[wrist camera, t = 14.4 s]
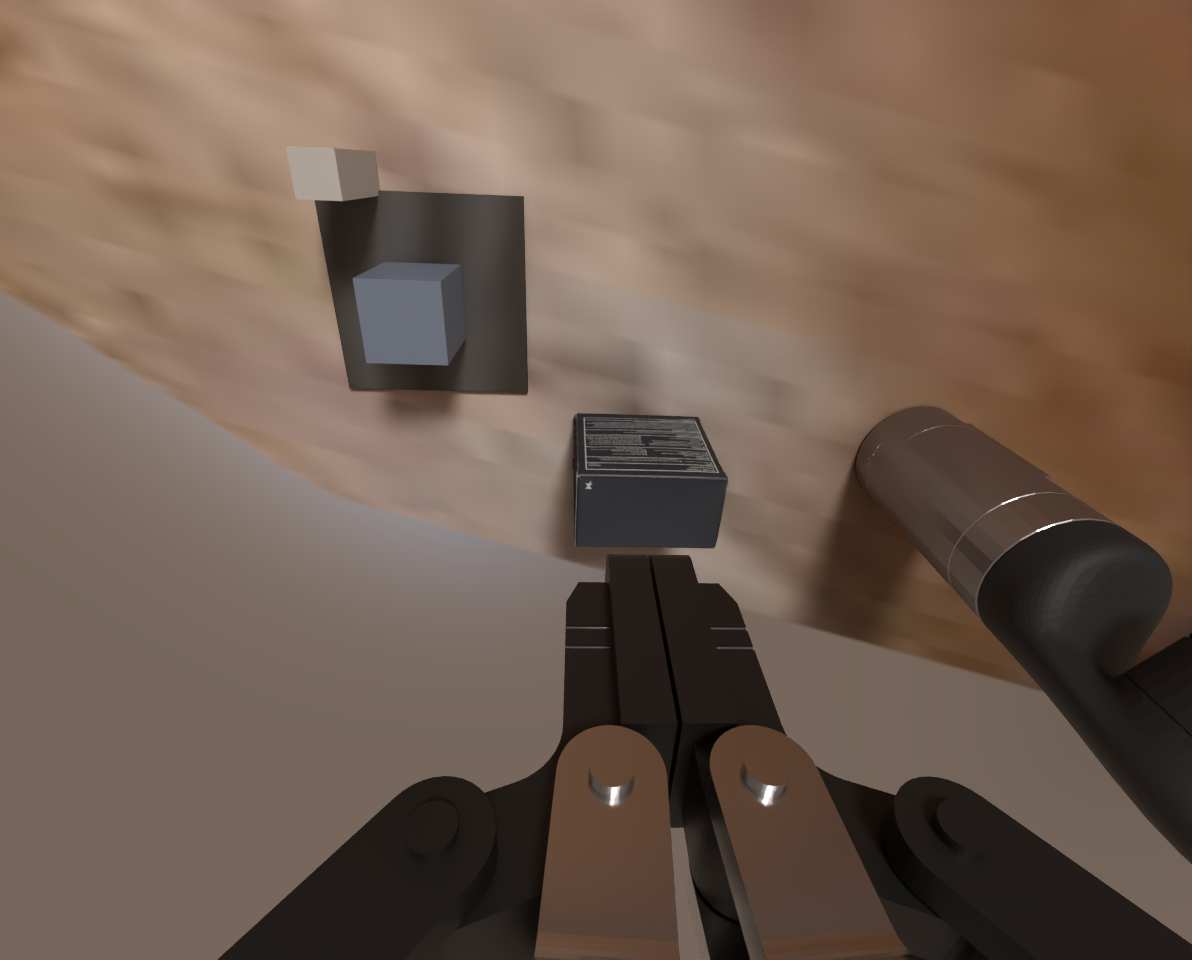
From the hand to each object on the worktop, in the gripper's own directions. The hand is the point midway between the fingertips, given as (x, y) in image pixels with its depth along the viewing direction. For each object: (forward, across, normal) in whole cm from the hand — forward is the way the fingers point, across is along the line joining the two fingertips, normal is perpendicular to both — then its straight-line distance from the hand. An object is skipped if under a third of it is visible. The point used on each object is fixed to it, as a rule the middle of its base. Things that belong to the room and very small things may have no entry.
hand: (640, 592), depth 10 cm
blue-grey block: (+34, +12, +2) cm, 36 cm away
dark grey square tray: (+35, +12, +2) cm, 37 cm away
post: (+35, +16, -6) cm, 39 cm away
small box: (+35, -4, +14) cm, 38 cm away
